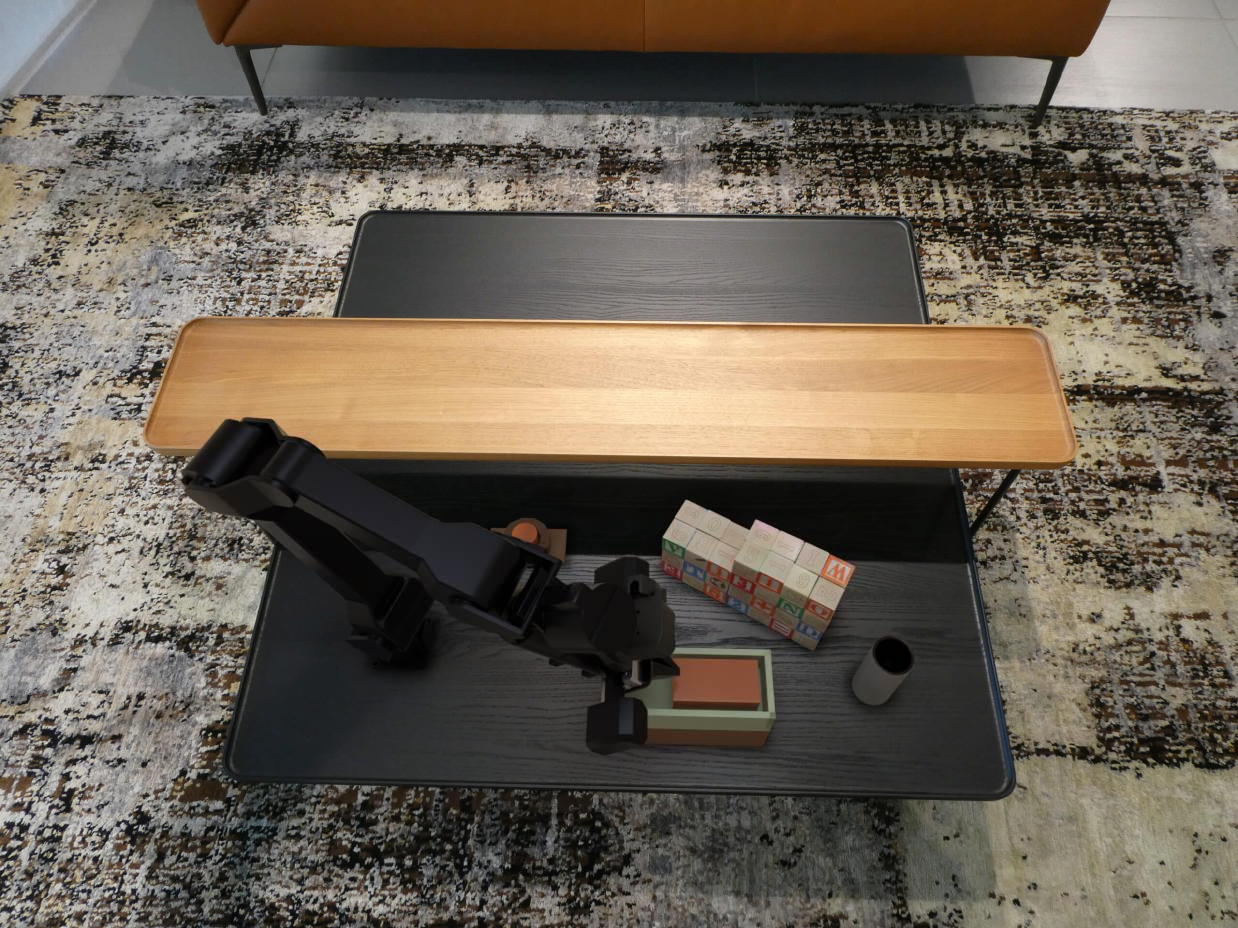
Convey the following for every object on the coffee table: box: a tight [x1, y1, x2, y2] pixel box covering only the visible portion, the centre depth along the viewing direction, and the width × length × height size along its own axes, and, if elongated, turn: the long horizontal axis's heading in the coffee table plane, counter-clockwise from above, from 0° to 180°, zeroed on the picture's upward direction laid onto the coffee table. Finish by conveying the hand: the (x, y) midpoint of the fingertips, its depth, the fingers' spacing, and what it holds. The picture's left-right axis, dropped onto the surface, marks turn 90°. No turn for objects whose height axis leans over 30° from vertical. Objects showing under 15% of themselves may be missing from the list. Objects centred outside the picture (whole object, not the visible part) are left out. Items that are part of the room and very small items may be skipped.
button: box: [512, 523, 538, 545], centre depth 107 cm, size 3×3×2 cm
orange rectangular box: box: [671, 658, 760, 711], centre depth 90 cm, size 5×5×9 cm
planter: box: [851, 634, 916, 707], centre depth 94 cm, size 4×4×10 cm
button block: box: [490, 517, 568, 567], centre depth 108 cm, size 10×6×2 cm, turn 88°
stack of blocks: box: [660, 499, 856, 652], centre depth 100 cm, size 21×6×12 cm, turn 59°
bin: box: [625, 647, 777, 747], centre depth 93 cm, size 16×7×11 cm, turn 88°
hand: (677, 673), depth 86 cm, fingers closed
